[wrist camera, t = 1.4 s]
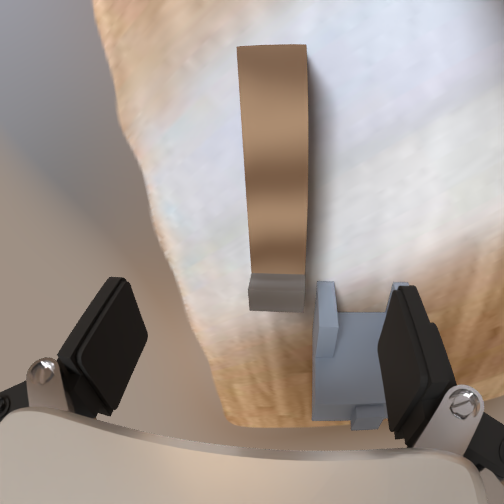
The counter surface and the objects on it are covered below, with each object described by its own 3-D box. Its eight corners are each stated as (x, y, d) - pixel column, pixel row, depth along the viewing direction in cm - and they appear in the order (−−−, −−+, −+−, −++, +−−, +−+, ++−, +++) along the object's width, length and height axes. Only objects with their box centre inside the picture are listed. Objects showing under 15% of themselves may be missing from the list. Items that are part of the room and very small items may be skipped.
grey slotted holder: (317, 281, 30) (320, 390, 20) (407, 282, 29) (441, 384, 19) (312, 331, 34) (311, 432, 24) (392, 331, 33) (412, 427, 23)
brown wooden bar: (248, 50, 20) (229, 44, 14) (304, 48, 20) (307, 42, 14) (259, 257, 30) (249, 310, 24) (303, 258, 29) (303, 312, 24)
